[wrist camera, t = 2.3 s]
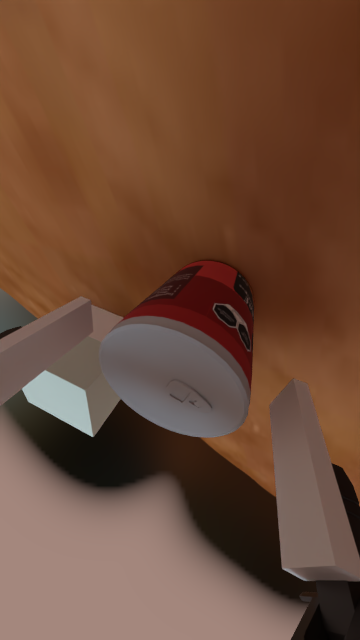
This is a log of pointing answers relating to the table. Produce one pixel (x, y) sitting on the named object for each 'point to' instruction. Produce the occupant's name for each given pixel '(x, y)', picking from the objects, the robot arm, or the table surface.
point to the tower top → (75, 388)
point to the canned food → (187, 352)
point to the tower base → (102, 322)
